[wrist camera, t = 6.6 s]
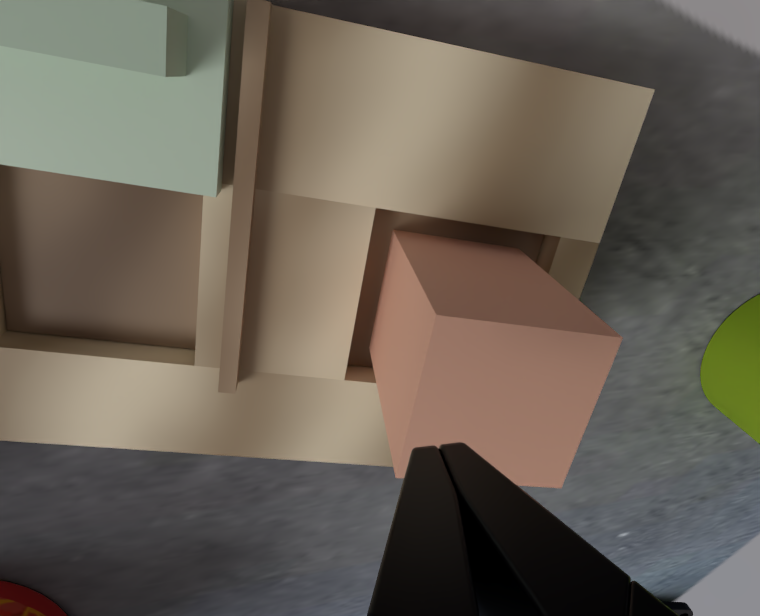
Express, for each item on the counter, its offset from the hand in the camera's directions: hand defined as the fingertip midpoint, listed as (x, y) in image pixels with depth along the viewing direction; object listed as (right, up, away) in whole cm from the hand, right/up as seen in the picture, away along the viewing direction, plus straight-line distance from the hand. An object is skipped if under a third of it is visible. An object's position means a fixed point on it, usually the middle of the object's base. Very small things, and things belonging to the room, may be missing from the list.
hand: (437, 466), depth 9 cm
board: (-4, +4, +8) cm, 10 cm away
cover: (-8, +9, +3) cm, 12 cm away
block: (+1, +3, +8) cm, 9 cm away
